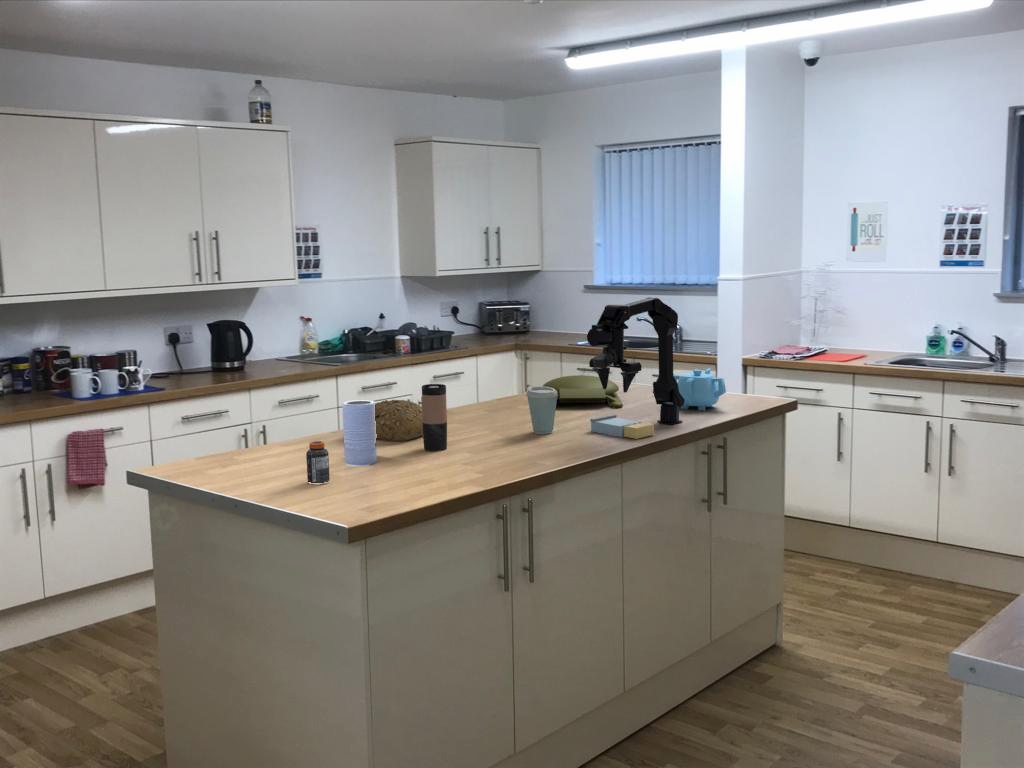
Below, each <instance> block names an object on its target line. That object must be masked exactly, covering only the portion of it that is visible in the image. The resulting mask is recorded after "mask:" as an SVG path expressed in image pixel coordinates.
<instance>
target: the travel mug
mask: <svg viewBox="0 0 1024 768" xmlns="http://www.w3.org/2000/svg"><path fill="white" fill-rule="evenodd" d="M421 404H422V405H421V407H422V422H423V423H422V424H423V435H422V436H423V437H422V439H423V449H424V451H426V452H442V451H443V452H444V451H446V450H447V449H448V448H447V447H448V413H447V412H448V410H447V409H448V408H447V406H448V405H447V386H446V385H445V384H442V383H428V384H423V385H421Z"/></svg>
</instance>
